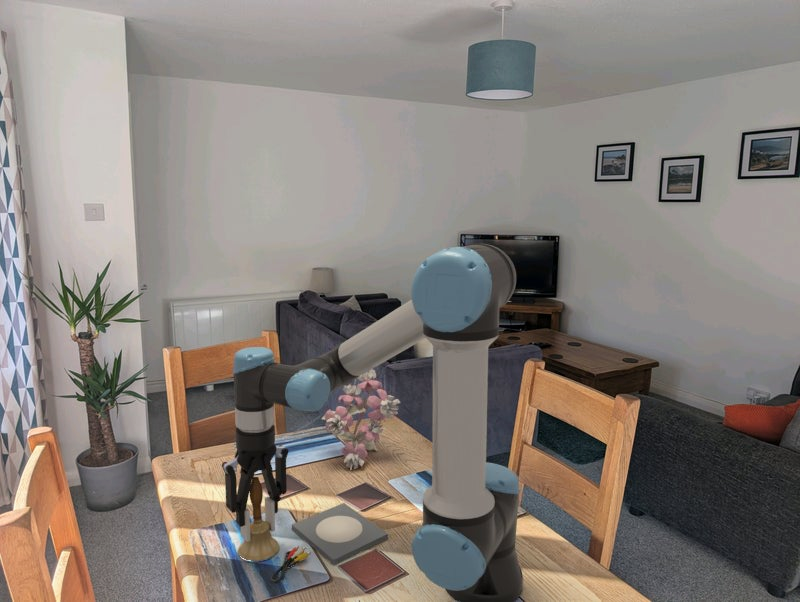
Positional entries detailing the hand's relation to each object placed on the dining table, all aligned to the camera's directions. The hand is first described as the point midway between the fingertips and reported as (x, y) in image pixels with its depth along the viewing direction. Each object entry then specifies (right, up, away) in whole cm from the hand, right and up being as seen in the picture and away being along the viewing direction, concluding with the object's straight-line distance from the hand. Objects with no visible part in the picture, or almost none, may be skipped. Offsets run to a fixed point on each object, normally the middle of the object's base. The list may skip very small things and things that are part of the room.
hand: (258, 533), depth 116 cm
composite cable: (+7, -5, -4) cm, 10 cm away
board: (+16, -3, +7) cm, 18 cm away
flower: (+18, +3, +42) cm, 46 cm away
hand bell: (0, -4, +1) cm, 4 cm away
